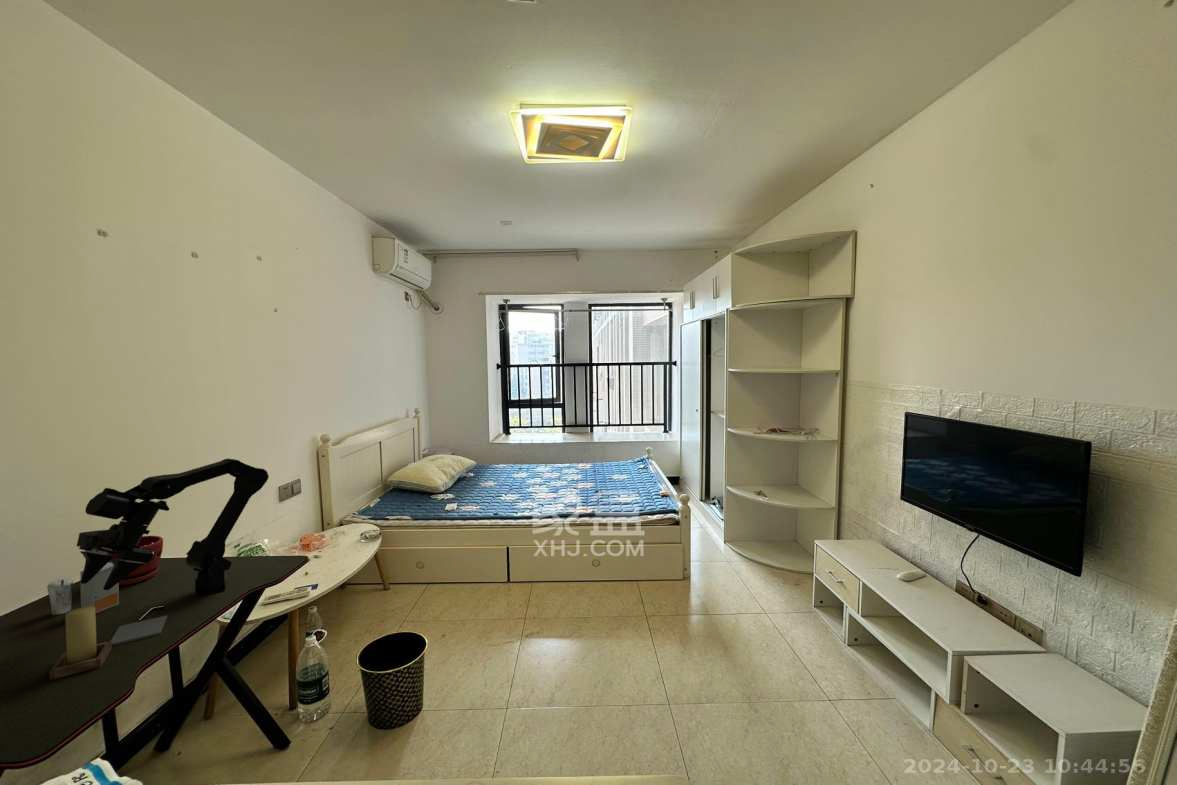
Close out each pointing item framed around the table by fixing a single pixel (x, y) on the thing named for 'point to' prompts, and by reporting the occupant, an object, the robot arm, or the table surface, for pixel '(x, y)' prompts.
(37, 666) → the table surface
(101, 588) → the skincare box
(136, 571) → the plant pot
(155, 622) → the slate mat
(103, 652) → the walnut socket
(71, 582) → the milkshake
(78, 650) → the wooden shaft
